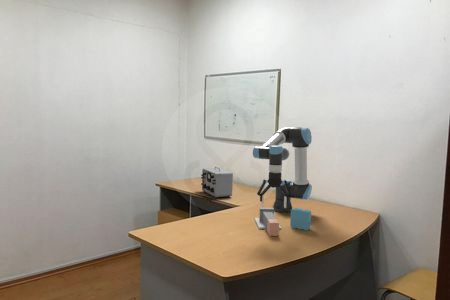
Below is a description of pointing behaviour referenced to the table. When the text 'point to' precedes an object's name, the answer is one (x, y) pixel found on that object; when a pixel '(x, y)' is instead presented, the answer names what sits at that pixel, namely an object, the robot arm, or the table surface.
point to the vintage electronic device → (217, 182)
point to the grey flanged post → (265, 217)
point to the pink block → (272, 227)
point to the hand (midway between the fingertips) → (273, 207)
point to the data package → (300, 219)
